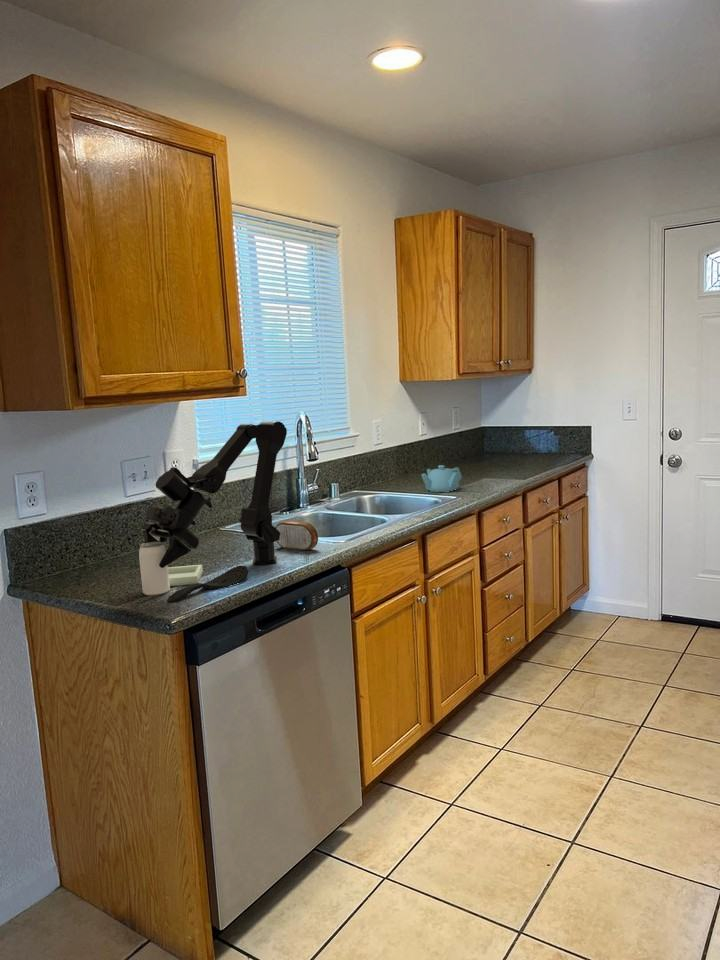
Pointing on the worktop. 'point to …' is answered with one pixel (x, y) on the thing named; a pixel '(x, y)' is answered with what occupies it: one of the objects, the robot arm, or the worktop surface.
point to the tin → (297, 535)
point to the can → (153, 569)
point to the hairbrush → (214, 582)
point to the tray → (184, 575)
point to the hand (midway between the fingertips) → (150, 564)
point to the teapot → (442, 479)
